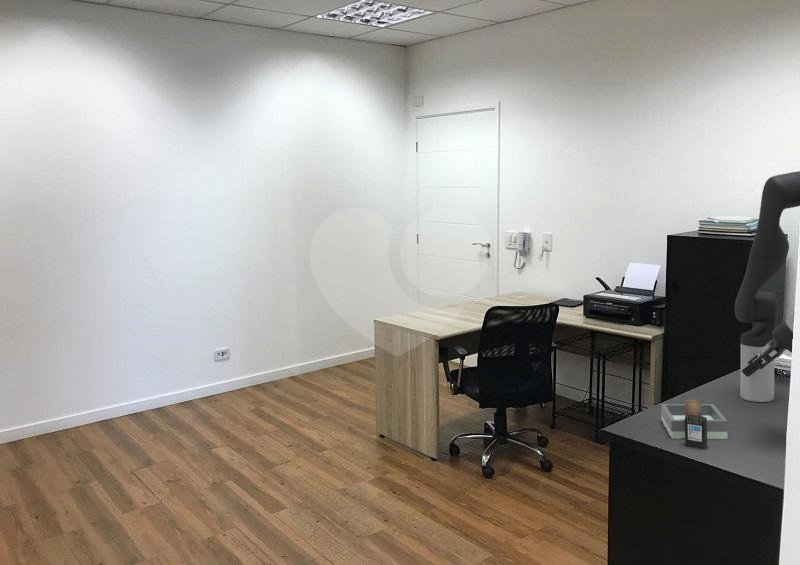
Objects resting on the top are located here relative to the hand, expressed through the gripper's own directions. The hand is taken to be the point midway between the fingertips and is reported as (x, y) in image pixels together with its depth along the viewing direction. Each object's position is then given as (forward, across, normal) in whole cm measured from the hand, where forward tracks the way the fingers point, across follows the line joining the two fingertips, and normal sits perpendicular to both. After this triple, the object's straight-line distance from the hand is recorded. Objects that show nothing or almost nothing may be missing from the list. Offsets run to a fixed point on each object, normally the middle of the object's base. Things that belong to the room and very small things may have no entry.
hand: (747, 369), depth 177 cm
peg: (+22, +2, +4) cm, 22 cm away
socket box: (+22, +2, +4) cm, 22 cm away
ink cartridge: (+20, +14, +6) cm, 25 cm away
